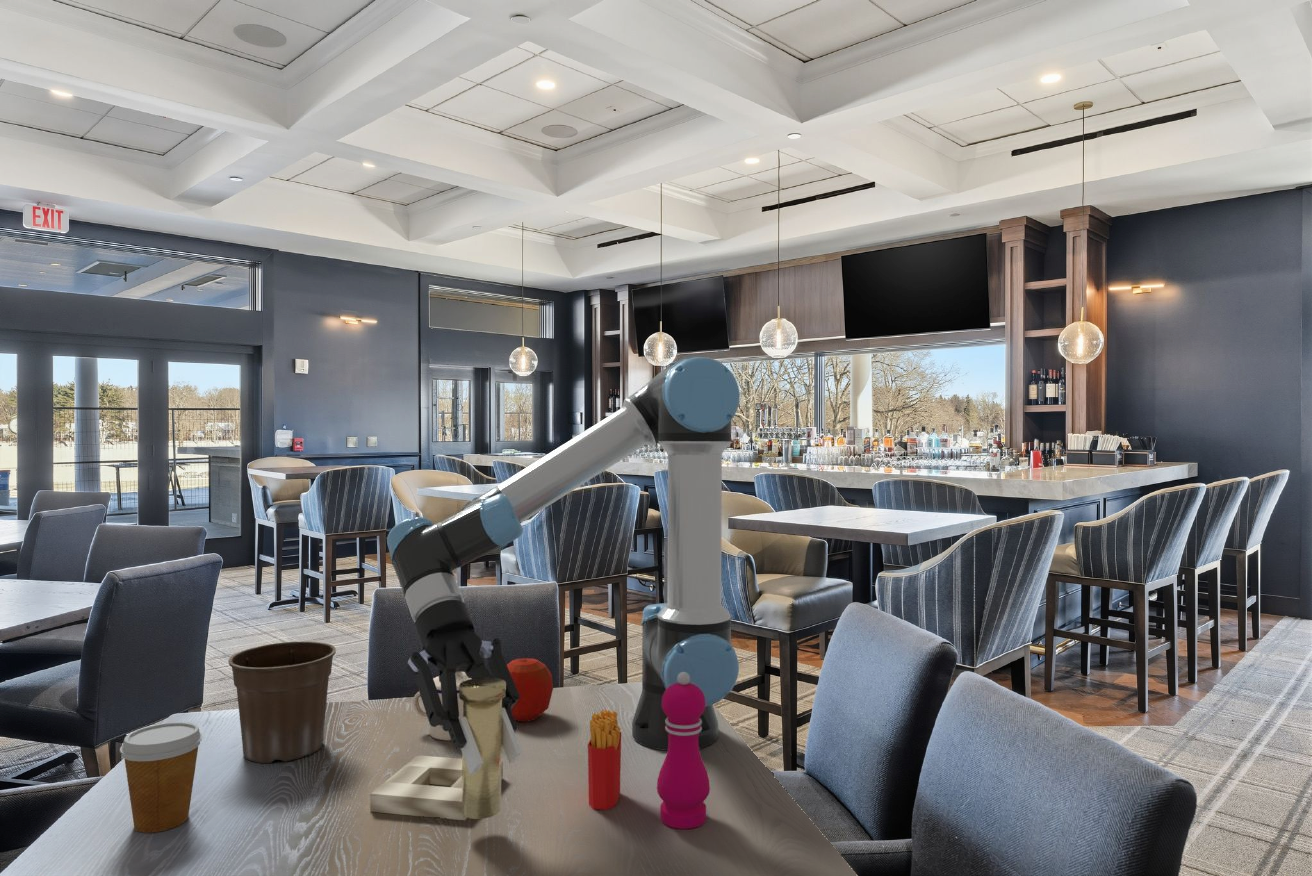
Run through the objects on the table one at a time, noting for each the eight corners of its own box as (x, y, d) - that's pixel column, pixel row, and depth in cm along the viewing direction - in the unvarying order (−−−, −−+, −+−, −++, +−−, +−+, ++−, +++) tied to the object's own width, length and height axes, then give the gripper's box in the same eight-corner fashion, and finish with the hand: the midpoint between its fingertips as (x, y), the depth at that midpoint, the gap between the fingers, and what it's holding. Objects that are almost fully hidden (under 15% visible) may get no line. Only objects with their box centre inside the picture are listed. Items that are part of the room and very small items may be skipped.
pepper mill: (693, 836, 106) (693, 682, 106) (646, 822, 110) (647, 674, 110) (718, 815, 112) (719, 669, 112) (674, 802, 116) (674, 662, 116)
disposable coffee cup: (150, 805, 115) (150, 720, 115) (216, 806, 114) (216, 721, 114) (101, 838, 105) (102, 745, 105) (174, 840, 105) (174, 746, 105)
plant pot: (283, 776, 125) (283, 671, 125) (204, 761, 130) (205, 660, 130) (356, 739, 140) (356, 646, 140) (283, 728, 146) (283, 638, 146)
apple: (561, 711, 155) (561, 650, 155) (537, 729, 145) (537, 664, 145) (513, 706, 158) (513, 646, 158) (487, 723, 149) (487, 659, 149)
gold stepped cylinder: (511, 802, 109) (512, 679, 109) (494, 822, 103) (496, 692, 103) (469, 798, 110) (470, 676, 110) (450, 818, 104) (451, 689, 104)
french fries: (611, 813, 113) (612, 726, 113) (584, 811, 113) (584, 724, 113) (624, 787, 121) (624, 706, 121) (598, 785, 122) (598, 705, 122)
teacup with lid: (487, 724, 148) (487, 660, 148) (471, 742, 139) (471, 674, 139) (423, 722, 149) (423, 658, 149) (403, 740, 140) (403, 672, 140)
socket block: (502, 778, 124) (502, 762, 124) (465, 820, 110) (465, 801, 110) (417, 771, 127) (417, 755, 127) (370, 811, 113) (370, 793, 113)
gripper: (486, 619, 124) (544, 760, 112) (370, 637, 113) (420, 796, 100) (504, 590, 120) (566, 732, 108) (386, 605, 109) (440, 766, 96)
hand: (496, 763), depth 104 cm, fingers closed on gold stepped cylinder, 5 cm apart
